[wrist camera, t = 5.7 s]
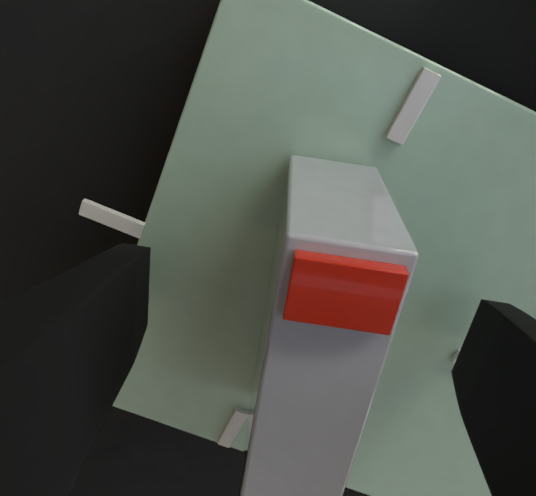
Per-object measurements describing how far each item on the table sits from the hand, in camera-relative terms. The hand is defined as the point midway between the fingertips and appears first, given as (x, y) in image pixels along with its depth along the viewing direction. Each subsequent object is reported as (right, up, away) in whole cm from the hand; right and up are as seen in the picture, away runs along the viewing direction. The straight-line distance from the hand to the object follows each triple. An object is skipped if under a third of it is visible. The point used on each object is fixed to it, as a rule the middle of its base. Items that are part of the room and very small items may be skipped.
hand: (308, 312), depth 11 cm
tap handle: (0, 0, +1) cm, 1 cm away
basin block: (+3, +1, +4) cm, 4 cm away
